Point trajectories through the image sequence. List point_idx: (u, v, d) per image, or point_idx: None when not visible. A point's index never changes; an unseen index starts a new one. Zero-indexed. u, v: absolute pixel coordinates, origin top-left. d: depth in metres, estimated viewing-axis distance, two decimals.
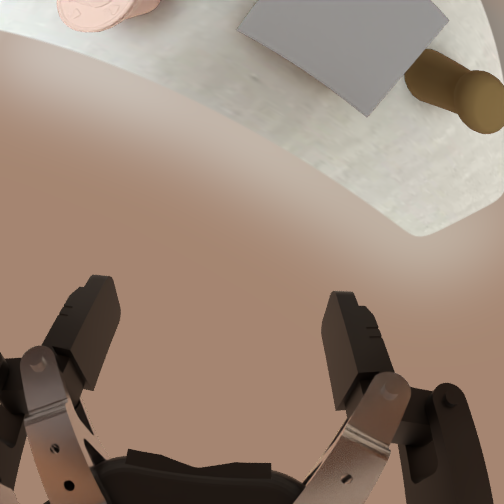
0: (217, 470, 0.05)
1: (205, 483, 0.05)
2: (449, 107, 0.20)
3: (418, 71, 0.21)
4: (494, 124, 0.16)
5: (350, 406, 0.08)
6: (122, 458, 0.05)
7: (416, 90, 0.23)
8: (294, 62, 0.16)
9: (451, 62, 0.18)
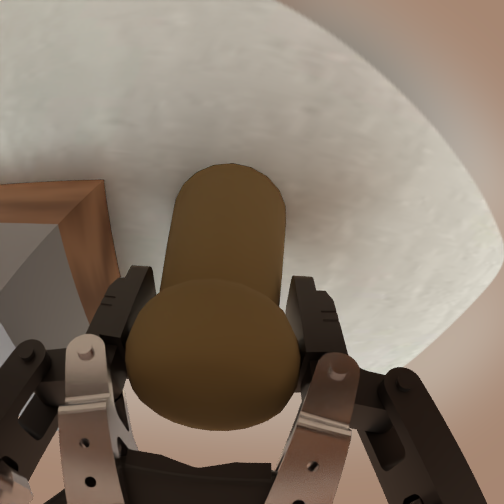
0: (217, 470, 0.05)
1: (205, 483, 0.05)
2: None
3: None
4: (243, 423, 0.08)
5: (303, 387, 0.09)
6: (122, 458, 0.05)
7: None
8: None
9: (175, 237, 0.12)
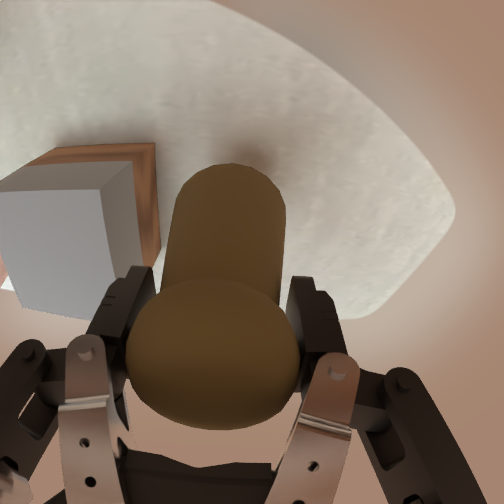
0: (218, 470, 0.05)
1: (205, 483, 0.05)
2: None
3: None
4: (243, 422, 0.08)
5: (303, 387, 0.09)
6: (122, 458, 0.05)
7: None
8: (58, 313, 0.20)
9: (175, 236, 0.12)
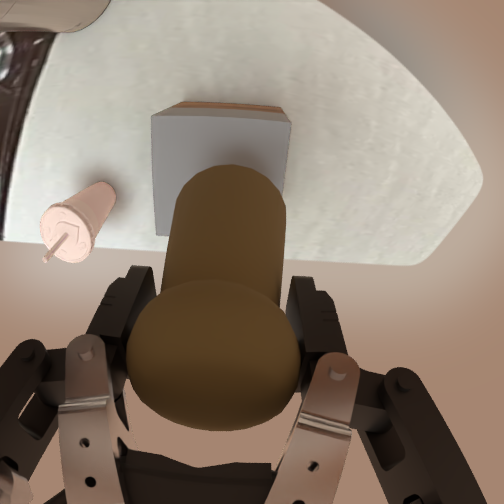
0: (218, 470, 0.05)
1: (205, 483, 0.05)
2: None
3: None
4: (243, 423, 0.08)
5: (303, 387, 0.09)
6: (122, 458, 0.05)
7: None
8: None
9: (175, 237, 0.12)
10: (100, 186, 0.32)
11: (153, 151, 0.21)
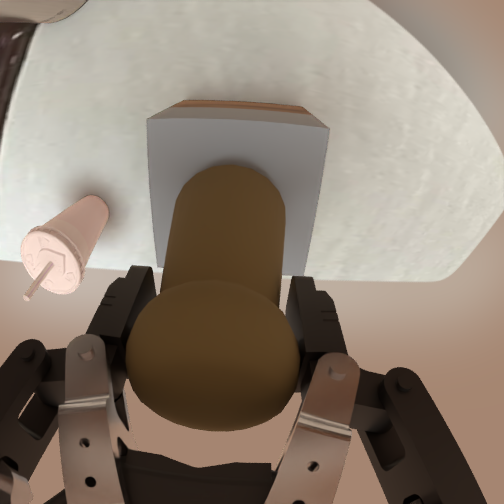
0: (218, 470, 0.05)
1: (205, 483, 0.05)
2: None
3: None
4: (242, 424, 0.08)
5: (303, 387, 0.09)
6: (122, 458, 0.05)
7: None
8: None
9: (175, 238, 0.12)
10: (90, 201, 0.27)
11: (150, 165, 0.17)
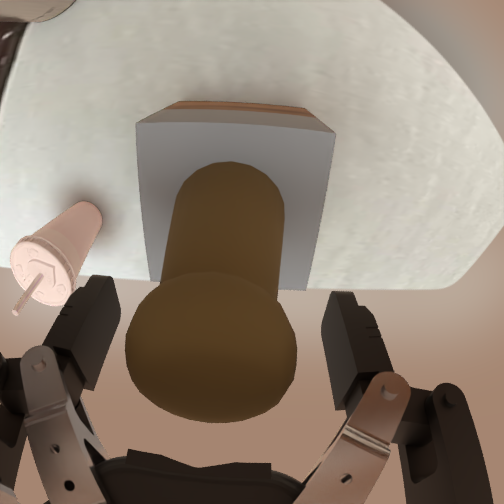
0: (218, 470, 0.05)
1: (205, 483, 0.05)
2: None
3: None
4: (240, 415, 0.08)
5: (350, 406, 0.08)
6: (122, 458, 0.05)
7: None
8: None
9: (175, 232, 0.12)
10: (82, 208, 0.26)
11: (140, 173, 0.15)
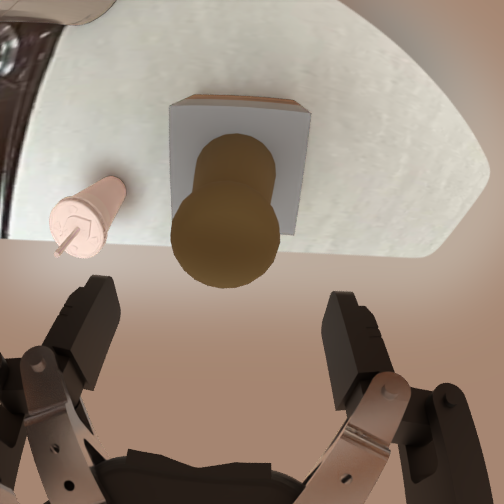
0: (218, 470, 0.05)
1: (205, 483, 0.05)
2: None
3: None
4: (243, 271, 0.14)
5: (350, 406, 0.08)
6: (122, 458, 0.05)
7: None
8: None
9: (200, 172, 0.18)
10: (110, 180, 0.31)
11: (171, 141, 0.21)
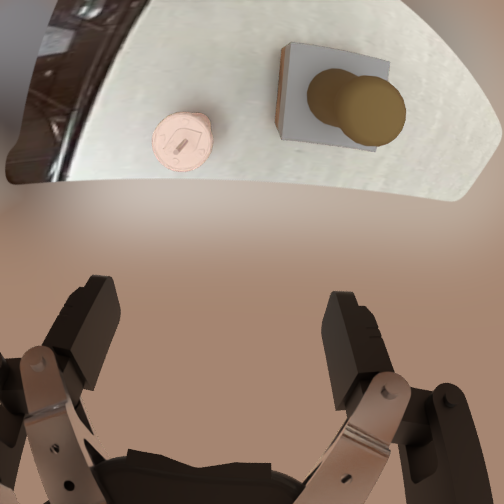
0: (218, 470, 0.05)
1: (205, 483, 0.05)
2: None
3: (316, 107, 0.25)
4: (389, 129, 0.18)
5: (350, 406, 0.08)
6: (122, 458, 0.05)
7: (328, 123, 0.27)
8: (321, 143, 0.29)
9: (332, 81, 0.22)
10: (201, 114, 0.35)
11: (290, 68, 0.25)
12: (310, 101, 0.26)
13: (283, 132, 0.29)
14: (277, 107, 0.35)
